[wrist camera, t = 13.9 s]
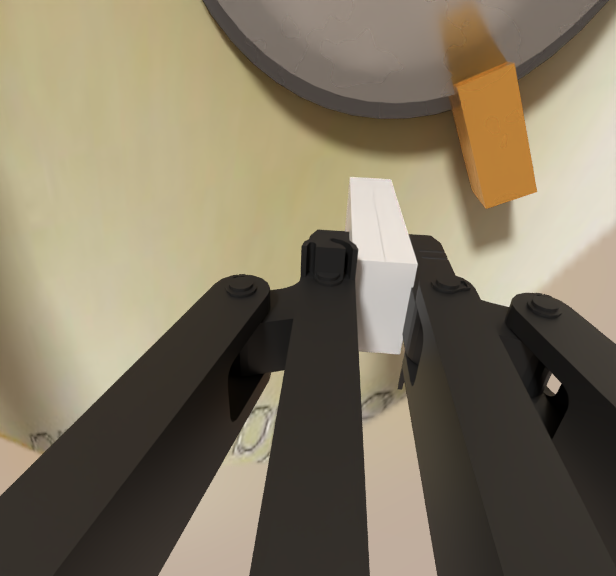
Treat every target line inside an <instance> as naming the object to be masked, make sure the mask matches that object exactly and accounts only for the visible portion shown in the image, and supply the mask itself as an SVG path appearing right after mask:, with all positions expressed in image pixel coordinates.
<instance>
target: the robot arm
mask: <svg viewBox="0 0 616 576" xmlns="http://www.w3.org/2000/svg"><path fill="white" fill-rule="evenodd" d="M403 341H404V346H405V354H404V359H403V364H402V369H401V373H400V378H399V383H398V389H402V387H403V383H404V382H405V387H406V392H407V398H408V404H409V410H410V416H411V422H412V428H413V433H414V440H415V445H416V452H417V458H418V463H419V469H420V475H421V481H422V487H423V493H424V499H425V505H426V511H427V516H428V523H429V529H430V535H431V540H432V546H433V552H434V558H435V564H436V570H437V575H438V576H616V344H615V343H614V342H612V341H611V340H610V339H609V338H607V337H606V336H605V335H604V334H603V333H601V332H600V331H599V330H598V329H596V328H595V327H594V326H593V325H592V324H590V323H589V322H588V321H587V320H585V319H584V318H583V317H582V316H580V315H579V314H578V313H577V312H575V311H574V310H573V309H572V308H570V307H569V306H568V305H566V304H565V303H563V302H562V301H560V300H557V299H555V298H552V297H551V296H549V295H545V294H544V295H542V294H541V293H522V294H517V295H516V296H515V297H514V298H512V301H511V304H510V307H506V306H502V305H497V304H493V303H489V302H486V301H483V300H481V299H480V297H479V295H478V293H477V291H476V289H475V288H474V287H473V285H472V284H471V283H470V282H468V281H466V280H465V279H463V278H461V277H458V276H455V273H454V271H453V269H452V267H451V265H450V262H449V260H447V256H446V254H445V253H444V249H443V247H442V245H441V243H440V242H438V241H437V240H436V239H434V238H433V237H432V236H428V235H413V234H408V232H407V228H406V225H405V222H404V219H403V216H402V213H401V210H400V206H399V203H398V200H397V197H396V194H395V191H394V187H393V184H392V181H391V179H376V178H359V177H350V182H349V193H348V204H347V215H346V226H345V231H331V230H317V231H316V232H314V233H313V234H312V235H311V236H310V239H308V240H307V241H305V242H304V243H303V245H302V250H301V278H300V281H299V282H298V283H297V284H295V285H293V286H290V287H287V288H283V289H277V290H270V287H269V285H268V283H267V282H266V281H265V280H263V279H262V278H259V277H256V276H253V275H245V274H239V275H232V276H229V277H226V278H223V279H221V280H220V281H218V282H217V283H215V284H214V285H213V286H212V287H211V288H210V289H209V290H208V291H207V292H206V293H205V294H204V295H203V296H202V297H201V298H200V299H199V300H198V301H197V302H196V303H195V304H194V305H193V306H192V307H191V308H190V309H189V310H188V311H187V312H186V313H185V314H184V315H183V316H182V317H181V318H180V319H179V320H178V321H177V322H176V323H175V324H174V325H173V326H172V327H171V328H170V329H169V330H168V331H167V332H166V333H165V334H164V335H163V336H162V337H161V338H160V339H159V340H158V341H157V342H156V343H155V344H154V345H153V346H152V347H151V348H150V349H149V350H148V351H147V352H146V353H145V354H144V355H143V356H142V357H140V358H139V359H138V360H137V361H136V362H135V363H134V364H133V365H132V366H131V367H130V368H129V369H128V370H127V371H126V372H125V373H124V374H123V375H122V376H121V377H120V378H119V379H118V380H117V381H116V382H115V383H114V384H113V385H112V386H111V387H110V388H109V389H108V390H107V391H106V392H105V393H104V394H103V395H102V396H101V397H100V398H99V399H98V400H97V401H96V402H95V403H94V404H93V405H92V406H91V407H90V408H89V409H88V410H87V411H86V412H85V413H84V414H83V415H82V416H81V417H80V418H79V419H78V420H77V421H76V422H75V423H74V424H73V425H72V426H71V427H70V428H69V429H68V430H67V431H66V432H65V433H64V434H63V435H62V436H61V437H60V438H59V439H58V440H57V441H56V442H55V443H54V444H53V445H52V446H50V447H49V448H48V449H47V450H46V451H45V452H44V453H43V454H42V455H41V456H40V457H39V458H38V459H37V460H36V461H35V462H34V463H33V464H32V465H31V466H30V467H29V468H28V469H27V470H26V471H25V472H24V473H23V474H22V475H21V476H20V477H19V478H18V479H17V480H16V481H15V482H14V483H13V484H12V485H11V486H10V487H9V488H8V489H7V490H6V491H5V492H4V493H3V494H2V495H1V496H0V576H158V575H159V573H160V571H161V569H162V567H163V566H164V564H165V562H166V561H167V559H168V557H169V555H170V553H171V552H172V550H173V548H174V546H175V545H176V543H177V541H178V539H179V538H180V536H181V534H182V532H183V531H184V529H185V527H186V525H187V524H188V522H189V520H190V518H191V517H192V515H193V513H194V511H195V509H196V508H197V506H198V504H199V503H200V501H201V499H202V497H203V496H204V494H205V492H206V490H207V489H208V487H209V485H210V483H211V482H212V480H213V478H214V476H215V475H216V473H217V471H218V469H219V468H220V466H221V464H222V462H223V460H224V459H225V457H226V455H227V453H228V452H229V450H230V448H231V446H232V445H233V443H234V441H235V439H236V438H237V436H238V434H239V432H240V431H241V429H242V427H243V425H244V424H245V422H246V420H247V418H248V417H249V415H250V413H251V411H252V410H253V408H254V406H255V404H256V403H257V401H258V399H259V397H260V396H261V394H262V392H263V390H264V389H265V387H266V385H267V383H268V381H269V379H270V375H271V372H276V371H282V370H285V371H284V377H283V382H282V388H281V394H280V400H279V406H278V412H277V417H276V423H275V429H274V435H273V441H272V446H271V452H270V458H269V464H268V470H267V476H266V481H265V487H264V493H263V499H262V505H261V511H260V517H259V522H258V528H257V535H256V540H255V546H254V551H253V557H252V563H251V569H250V575H249V576H370V572H369V552H368V531H367V511H366V491H365V473H364V472H365V471H364V450H363V431H362V410H361V390H360V370H359V351H361V352H375V353H388V354H400V352H401V347H402V342H403ZM551 374H553V375H554V376H555V377H556V378H557V379H558V380H559V381H560V382H561V383H562V384H561V386H560V388H559V390H558V392H557V393H556V394H554V393H553V392H552V391H551V390H550V389H549V388H548V387H547V386H546V385H547V383H548V380H549V378H550V376H551Z"/></svg>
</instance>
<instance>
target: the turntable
mask: <svg viewBox="0 0 616 576" xmlns="http://www.w3.org/2000/svg"><path fill="white" fill-rule="evenodd" d="M598 1H599V0H218V2H219V4H220V5H221V7H222V8H223V9H224V11H225V12H226V13H227V14H228V15H229V17H230V18H231V19H232V20H233V22H234V23H235V24H236V25H237V26H238V28H239V29H240V30H241V31H242V32H243V34H244V35H245V36H246V37H247V38H249V39H250V40H251V41H252V42H253V43H254V44H255V45H256V46H257V47H258V48H259V49H260V50H261V51H262V52H263V53H264V54H265V55H267V56H268V57H269V58H271V59H272V60H273V61H275V62H276V63H277V64H279V65H280V66H282V67H283V68H284V69H286V70H287V71H288V72H290V73H292V74H293V75H295V76H297V77H299V78H301V79H303V80H305V81H306V82H308V83H310V84H312V85H314V86H316V87H319V88H322V89H324V90H327V91H330V92H332V93H335V94H338V95H341V96H345V97H350V98H354V99H359V100H364V101H369V102H384V103H406V102H420V101H427V100H432V99H437V98H441V97H446V96H449V100H450V104H451V108H452V112H453V116H454V120H455V124H456V128H457V132H458V136H459V140H460V144H461V149H462V153H463V157H464V161H465V165H466V169H467V173H468V177H469V181H470V185H471V189H472V191H473V193H474V194H475V195H476V197H477V198H478V199H479V201H480V202H481V203H482V204H483V206H484V207H485V208H486V209H487V208H490V207H493V206H496V205H499V204H502V203H505V202H508V201H511V200H514V199H517V198H520V197H523V196H526V195H529V194H532V193H535V192H537V188H536V183H535V177H534V171H533V166H532V160H531V154H530V148H529V143H528V137H527V131H526V126H525V120H524V114H523V109H522V103H521V97H520V91H519V86H518V80H517V74H516V69H515V68H516V67H518V66H519V65H521V64H522V63H524V62H525V61H527V60H529V59H530V58H532V57H533V56H535V55H536V54H538V53H540V52H541V51H542V50H544V49H545V48H546V47H547V46H549V45H550V44H551V43H552V42H554V41H555V40H556V39H557V38H559V37H560V36H561V35H562V34H564V33H565V32H566V31H567V30H569V29H570V28H571V27H572V26H573V25H574V24H575V23H576V22H577V21H578V20H579V19H580V18H581V17H582V16H583V15H585V14H586V13H587V12H588V11H589V10H590V9H591V8H592V7H593V6H594V5H595V4H596V3H597V2H598Z"/></svg>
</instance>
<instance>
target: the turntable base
mask: <svg viewBox="0 0 616 576" xmlns="http://www.w3.org/2000/svg"><path fill="white" fill-rule="evenodd" d="M608 1H609V0H599V1H598V2H597V3H596V4H595V5H594V6H593V7H592V8H591V9H590V10H589V11H588V12H587V13H586V14H585V15H583V16H582V17H581V18H580V19H579V20H578V21H577V22H576V23H575V24H574V25H573V26H572V27H571V28H570V29H569V30H567V31H566V32H565V33H564V34H562V35H561V36H560V37H559V38H557V39H556V40H555V41H554V42H552V43H551V44H550V45H549V46H547V47H546V48H545V49H544V50H542V51H541V52H540V53H538V54H536V55H535V56H533V57H532V58H530V59H529V60H527V61H525V62H524V63H522V64H521V65H519V66H518V67H516V68H515V69H516V74H517V80H519V79H520V78H522V77H524V76H525V75H526V74H528V73H529V72H530V71H532V70H533V69H535V68H536V67H537V66H539V65H540V64H542V63H543V62H544V61H546V60H547V59H549V58H550V57H551V56H553V55H554V54H555V53H556V52H557V51H558V50H559V49H560V48H562V47H563V46H564V45H565V44H566V43H567V42H568V41H569V40H571V39H572V38H573V37H574V36H575V35H576V34H577V33H579V32H580V31H581V30H582V29H583V28H584V26H585V25H586V24H587V23H588V22H589V21H590V20H591V19H592V18H593V17H594V16H595V15H596V14H597V13H598V11H599V10H600V9H601V8H602V7H603V6H604V5H605V4H606V3H607V2H608ZM203 2H204V3H205V5H206V7H207V8H208V10H209V12H210V13H211V15H212V16H213V18H214V19H215V20H216V21H217V23H218V24H219V25H220V27H221V28H222V29H223V31H224V32H225V33H226V35H227V36H228V37H229V39H230V40H231V41H232V42H233V43H234V44H235V45H236V46H237V47H238V48H239V49H240V50H241V52H242V53H243V54H244V55H245V56H246V57H247V58H248V59H249V60H250V61H251V62H252V63H253V64H254V65H255V66H257V67H258V68H259V69H260V70H262V71H263V72H264V73H265V74H267V75H268V76H269V77H270V78H272V79H273V80H274V81H275V82H277V83H278V84H280V85H282V86H283V87H285V88H287V89H288V90H290V91H292V92H293V93H295V94H297V95H298V96H300V97H302V98H304V99H306V100H309V101H311V102H313V103H316V104H318V105H320V106H323V107H325V108H328V109H331V110H335V111H339V112H342V113H346V114H350V115H354V116H362V117H370V118H378V119H398V118H413V117H420V116H427V115H433V114H438V113H441V112H445V111H448V110H452V108H451V104H450V100H449V96H446V97H441V98H437V99H432V100H427V101H420V102H406V103H384V102H369V101H364V100H359V99H354V98H350V97H345V96H341V95H338V94H335V93H332V92H330V91H327V90H324V89H322V88H319V87H316V86H314V85H312V84H310V83H308V82H306V81H305V80H303V79H301V78H299V77H297V76H295V75H293V74H292V73H290V72H288V71H287V70H286V69H284V68H283V67H282V66H280V65H279V64H277V63H276V62H275V61H273V60H272V59H271V58H269V57H268V56H267V55H265V54H264V53H263V52H262V51H261V50H260V49H259V48H258V47H257V46H256V45H255V44H254V43H253V42H252V41H251V40H250V39H249V38H247V37H246V36H245V35H244V34H243V32H242V31H241V30H240V29H239V28H238V26H237V25H236V24H235V23H234V22H233V20H232V19H231V18H230V17H229V15H228V14H227V13H226V12H225V11H224V9H223V8H222V7H221V5H220V4H219V2H218V0H203Z"/></svg>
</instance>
